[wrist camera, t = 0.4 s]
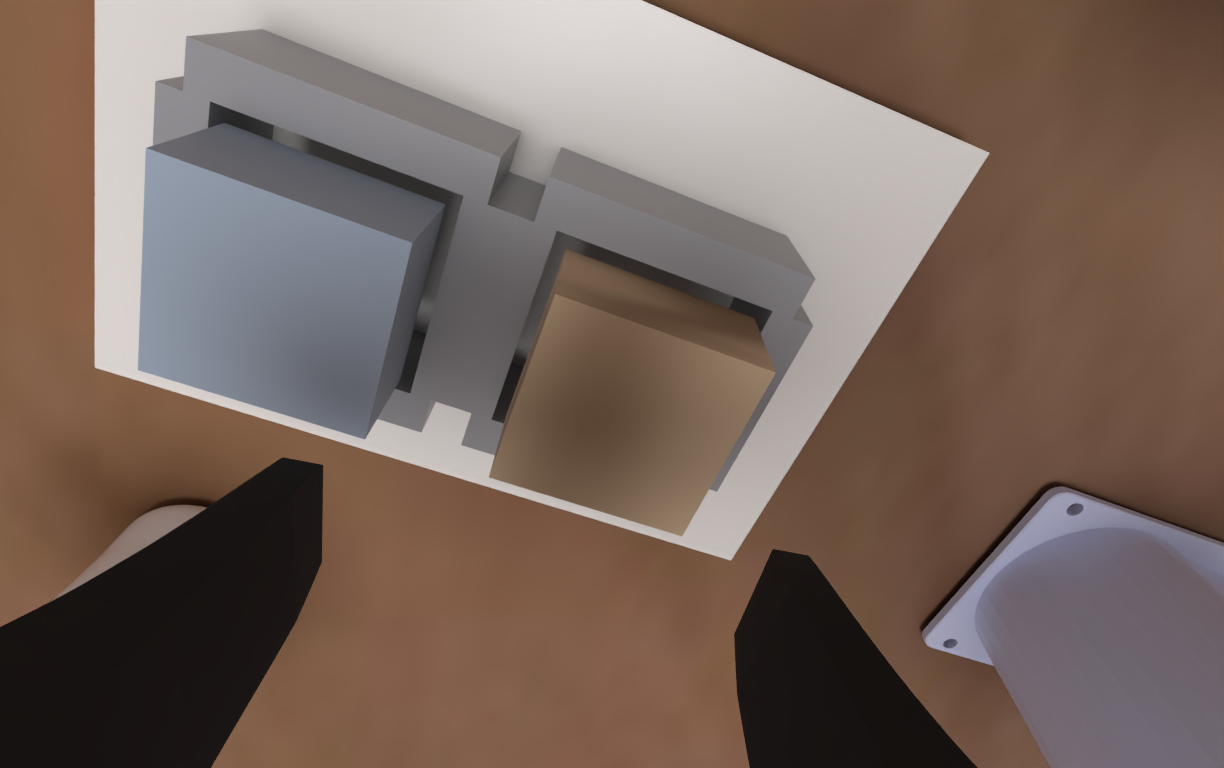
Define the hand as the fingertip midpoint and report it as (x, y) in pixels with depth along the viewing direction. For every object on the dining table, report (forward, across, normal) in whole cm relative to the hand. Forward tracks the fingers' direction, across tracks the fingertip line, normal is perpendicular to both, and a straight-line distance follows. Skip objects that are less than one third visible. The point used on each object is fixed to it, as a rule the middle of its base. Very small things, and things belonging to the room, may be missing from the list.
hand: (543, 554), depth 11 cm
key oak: (+6, -1, -1) cm, 6 cm away
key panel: (+10, +2, -1) cm, 11 cm away
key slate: (+6, +6, -2) cm, 8 cm away
